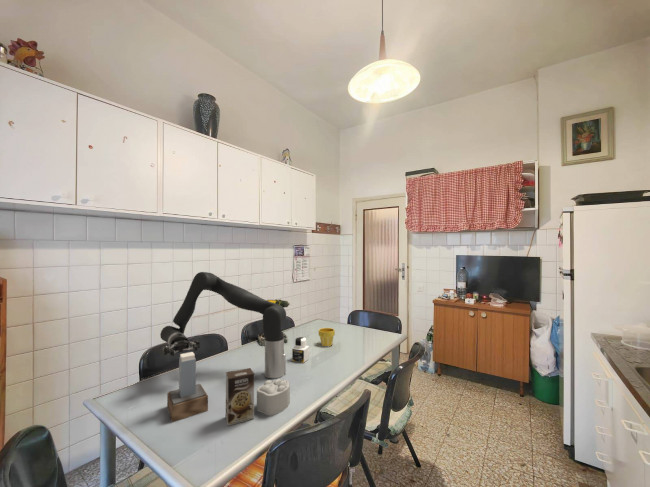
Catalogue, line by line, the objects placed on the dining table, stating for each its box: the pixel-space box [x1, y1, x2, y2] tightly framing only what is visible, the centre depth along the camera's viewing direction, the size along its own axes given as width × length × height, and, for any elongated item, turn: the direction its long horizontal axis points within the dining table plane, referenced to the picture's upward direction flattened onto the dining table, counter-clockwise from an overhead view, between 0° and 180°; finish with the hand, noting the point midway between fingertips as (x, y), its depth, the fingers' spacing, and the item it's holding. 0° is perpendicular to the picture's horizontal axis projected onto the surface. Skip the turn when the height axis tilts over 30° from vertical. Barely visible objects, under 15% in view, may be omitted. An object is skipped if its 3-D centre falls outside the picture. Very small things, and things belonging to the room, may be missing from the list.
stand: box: [166, 383, 209, 423], centre depth 107 cm, size 12×12×6 cm
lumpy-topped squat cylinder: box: [256, 378, 291, 417], centre depth 109 cm, size 10×13×9 cm
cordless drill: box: [257, 299, 291, 347], centre depth 189 cm, size 18×19×28 cm
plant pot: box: [318, 327, 336, 347], centre depth 179 cm, size 10×10×10 cm
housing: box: [178, 351, 197, 398], centre depth 107 cm, size 5×5×14 cm
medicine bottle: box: [291, 336, 310, 364], centre depth 155 cm, size 7×7×12 cm
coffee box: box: [225, 367, 255, 426], centre depth 101 cm, size 9×6×16 cm
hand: (184, 351), depth 118 cm, fingers open, 8 cm apart
